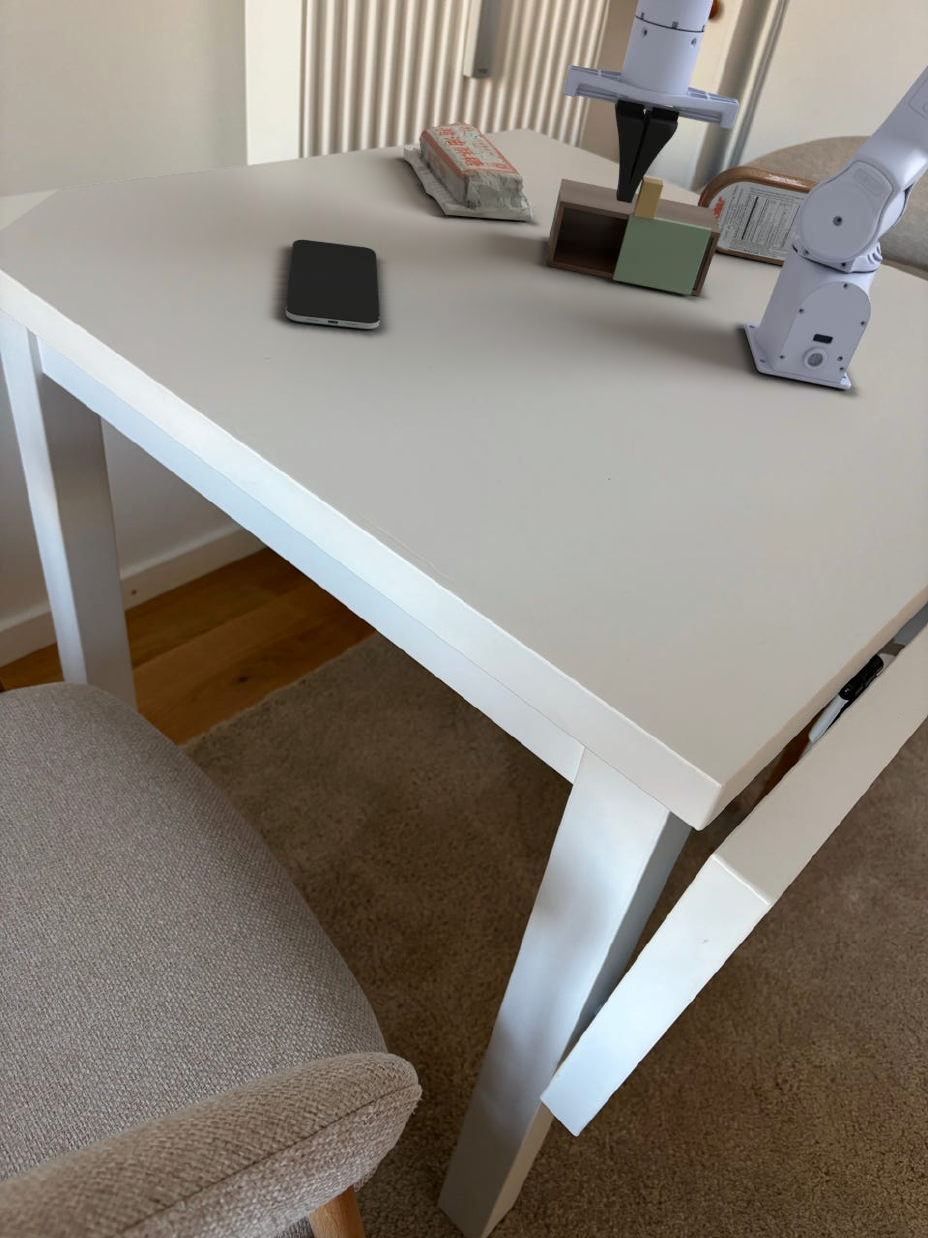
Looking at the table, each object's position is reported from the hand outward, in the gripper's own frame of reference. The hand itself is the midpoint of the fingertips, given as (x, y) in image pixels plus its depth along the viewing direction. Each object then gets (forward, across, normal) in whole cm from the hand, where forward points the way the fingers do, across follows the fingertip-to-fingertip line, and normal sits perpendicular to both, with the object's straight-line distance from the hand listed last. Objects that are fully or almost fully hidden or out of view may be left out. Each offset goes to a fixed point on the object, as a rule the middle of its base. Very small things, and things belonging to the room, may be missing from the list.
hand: (623, 198), depth 84 cm
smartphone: (+7, +23, +14) cm, 28 cm away
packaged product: (+8, +15, -18) cm, 25 cm away
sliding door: (+7, -5, 0) cm, 9 cm away
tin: (+8, -17, -15) cm, 24 cm away
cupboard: (+7, -2, -4) cm, 9 cm away
